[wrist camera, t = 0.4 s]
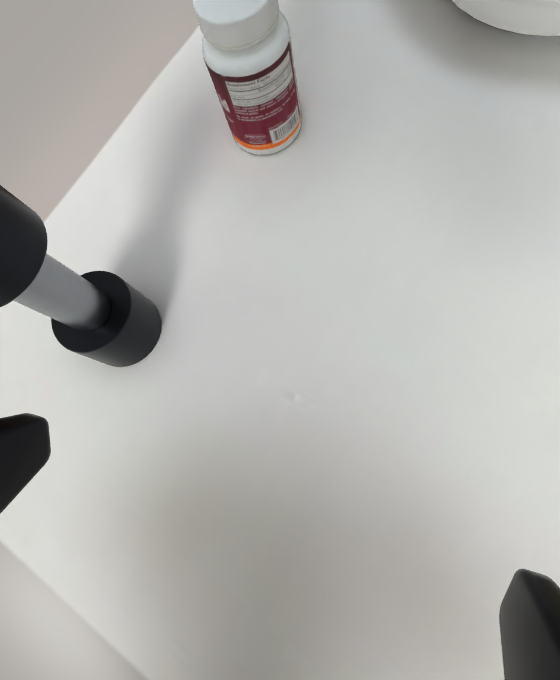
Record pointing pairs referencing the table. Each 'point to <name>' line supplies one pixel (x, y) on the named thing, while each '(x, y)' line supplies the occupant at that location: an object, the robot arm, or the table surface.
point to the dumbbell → (72, 294)
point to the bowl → (516, 15)
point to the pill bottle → (252, 71)
